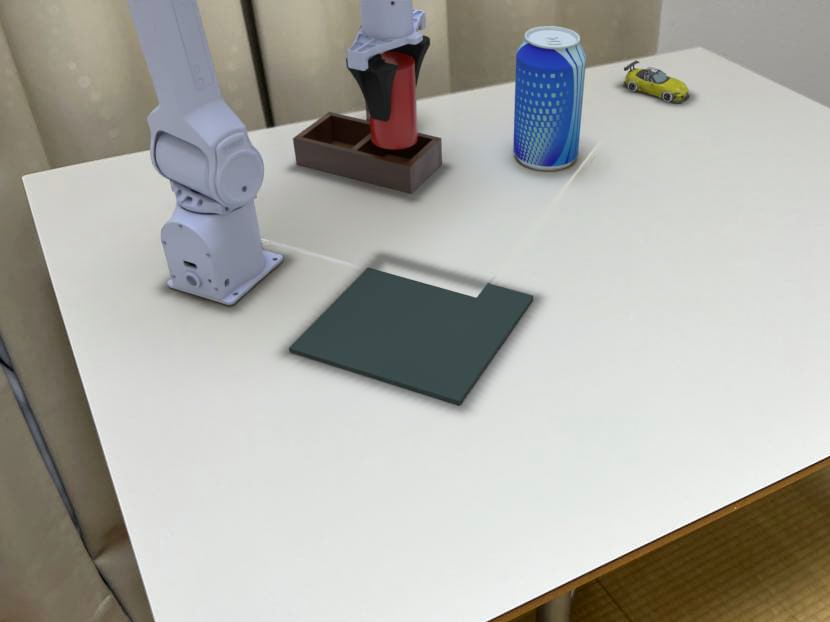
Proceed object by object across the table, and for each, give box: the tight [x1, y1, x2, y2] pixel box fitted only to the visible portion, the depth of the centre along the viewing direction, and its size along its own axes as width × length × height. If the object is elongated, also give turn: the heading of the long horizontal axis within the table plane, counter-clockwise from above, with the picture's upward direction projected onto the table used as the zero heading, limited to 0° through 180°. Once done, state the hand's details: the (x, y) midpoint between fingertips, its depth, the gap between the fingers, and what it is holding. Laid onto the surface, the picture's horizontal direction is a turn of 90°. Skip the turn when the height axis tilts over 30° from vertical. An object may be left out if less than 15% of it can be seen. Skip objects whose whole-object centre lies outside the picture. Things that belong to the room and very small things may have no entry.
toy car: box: [622, 60, 690, 104], centre depth 133 cm, size 5×10×3 cm, turn 57°
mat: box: [288, 267, 534, 405], centre depth 89 cm, size 18×18×1 cm
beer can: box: [512, 25, 587, 171], centre depth 110 cm, size 8×8×16 cm
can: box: [369, 52, 419, 150], centre depth 104 cm, size 6×6×10 cm
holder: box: [292, 111, 443, 195], centre depth 111 cm, size 8×16×4 cm, turn 68°
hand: (392, 109), depth 105 cm, fingers closed on can, 5 cm apart
